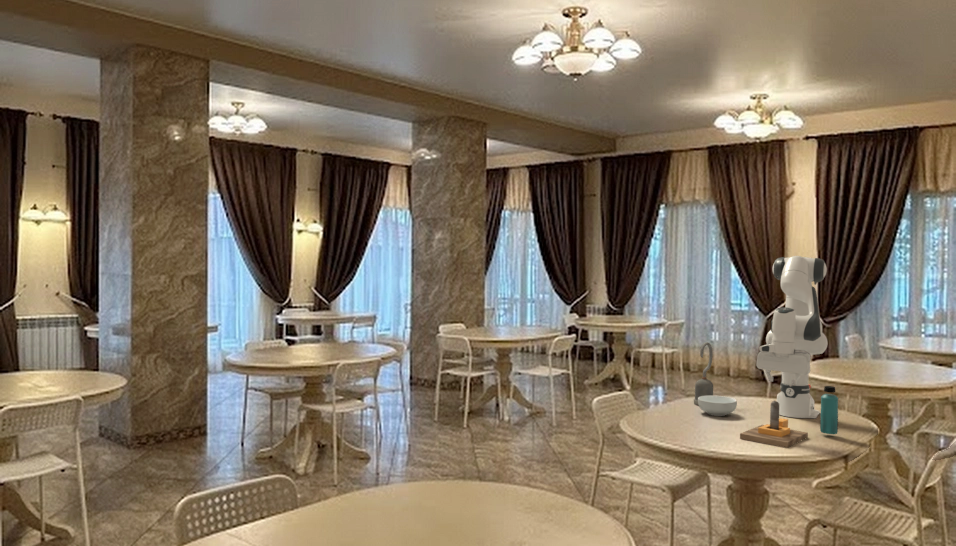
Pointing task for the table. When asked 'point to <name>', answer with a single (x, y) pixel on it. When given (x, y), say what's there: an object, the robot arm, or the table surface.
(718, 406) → the cereal bowl
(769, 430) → the loop fitting
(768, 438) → the keeper board
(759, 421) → the table surface
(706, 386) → the hook
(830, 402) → the beverage bottle
